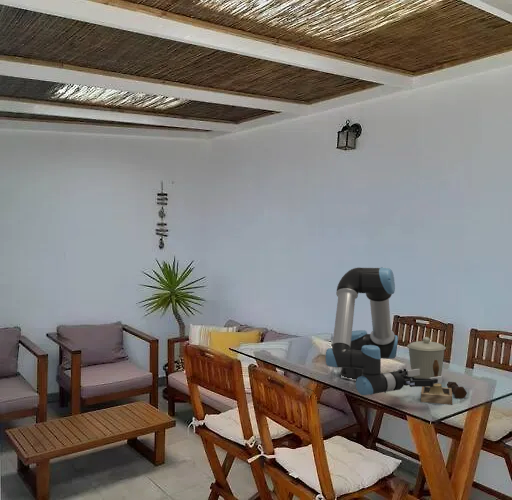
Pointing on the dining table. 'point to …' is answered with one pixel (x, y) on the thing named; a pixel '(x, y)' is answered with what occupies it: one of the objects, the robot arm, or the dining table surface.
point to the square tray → (436, 396)
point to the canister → (426, 357)
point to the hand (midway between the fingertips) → (430, 375)
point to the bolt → (457, 390)
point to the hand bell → (438, 387)
